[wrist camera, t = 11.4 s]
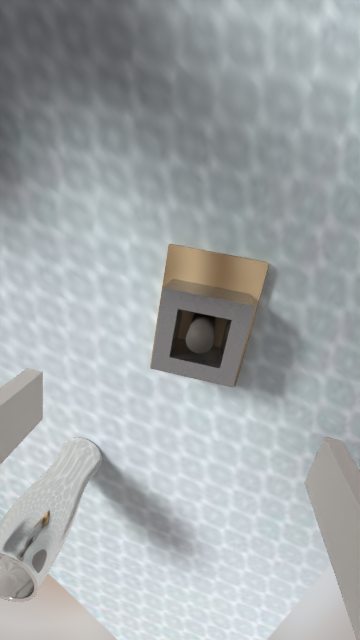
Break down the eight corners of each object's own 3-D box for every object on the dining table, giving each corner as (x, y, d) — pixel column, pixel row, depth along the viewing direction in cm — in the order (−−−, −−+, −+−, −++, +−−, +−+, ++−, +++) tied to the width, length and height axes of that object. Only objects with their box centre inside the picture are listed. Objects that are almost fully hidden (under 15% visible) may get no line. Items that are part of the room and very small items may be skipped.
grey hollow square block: (161, 347, 31) (150, 368, 26) (172, 278, 29) (162, 287, 24) (231, 363, 30) (233, 387, 26) (249, 293, 28) (255, 306, 23)
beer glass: (110, 473, 40) (48, 606, 26) (67, 473, 41) (-15, 600, 27) (98, 433, 38) (25, 553, 24) (53, 435, 39) (-42, 549, 25)
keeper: (152, 362, 33) (134, 395, 26) (171, 243, 29) (154, 247, 22) (234, 381, 32) (237, 420, 26) (267, 262, 28) (281, 271, 21)
